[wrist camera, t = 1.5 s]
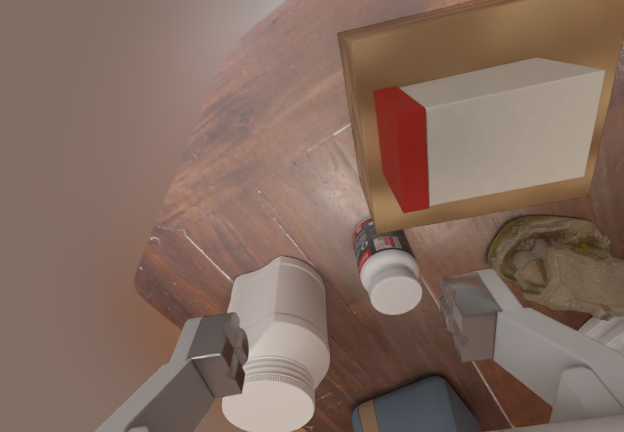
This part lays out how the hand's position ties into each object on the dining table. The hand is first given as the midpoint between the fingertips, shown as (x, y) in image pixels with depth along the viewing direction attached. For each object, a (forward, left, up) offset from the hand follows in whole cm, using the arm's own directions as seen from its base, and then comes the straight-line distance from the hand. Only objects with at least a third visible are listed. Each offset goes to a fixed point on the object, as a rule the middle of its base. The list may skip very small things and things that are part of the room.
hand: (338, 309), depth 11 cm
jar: (+21, -9, -25) cm, 34 cm away
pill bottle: (+15, +4, -25) cm, 30 cm away
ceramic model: (+22, +23, -25) cm, 41 cm away
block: (+1, +11, -25) cm, 27 cm away
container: (0, +9, -15) cm, 18 cm away
